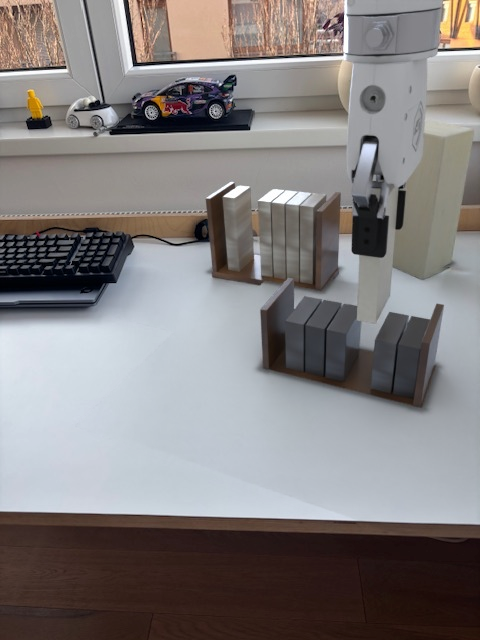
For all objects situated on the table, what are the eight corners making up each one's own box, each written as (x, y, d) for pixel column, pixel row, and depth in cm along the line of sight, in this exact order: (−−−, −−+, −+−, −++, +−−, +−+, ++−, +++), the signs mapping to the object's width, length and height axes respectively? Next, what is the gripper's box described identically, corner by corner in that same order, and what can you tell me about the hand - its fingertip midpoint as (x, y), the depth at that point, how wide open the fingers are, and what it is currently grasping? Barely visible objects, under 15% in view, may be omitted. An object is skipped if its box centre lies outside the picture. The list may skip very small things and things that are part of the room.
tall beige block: (455, 266, 84) (478, 126, 73) (423, 281, 81) (443, 136, 70) (414, 250, 90) (430, 118, 79) (383, 263, 87) (395, 127, 76)
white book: (390, 296, 60) (399, 180, 53) (375, 324, 55) (383, 202, 48) (372, 293, 61) (378, 179, 54) (356, 320, 56) (361, 200, 49)
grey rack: (435, 372, 63) (446, 304, 58) (421, 415, 57) (432, 344, 52) (287, 339, 70) (286, 277, 65) (261, 374, 64) (258, 309, 59)
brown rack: (339, 273, 85) (342, 192, 78) (321, 296, 79) (323, 211, 72) (234, 256, 92) (229, 181, 86) (211, 276, 87) (204, 198, 80)
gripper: (415, 50, 36) (395, 286, 46) (455, 24, 49) (433, 213, 59) (309, 53, 39) (311, 273, 49) (373, 27, 52) (365, 206, 62)
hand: (378, 238), depth 54 cm, fingers closed on white book, 6 cm apart
